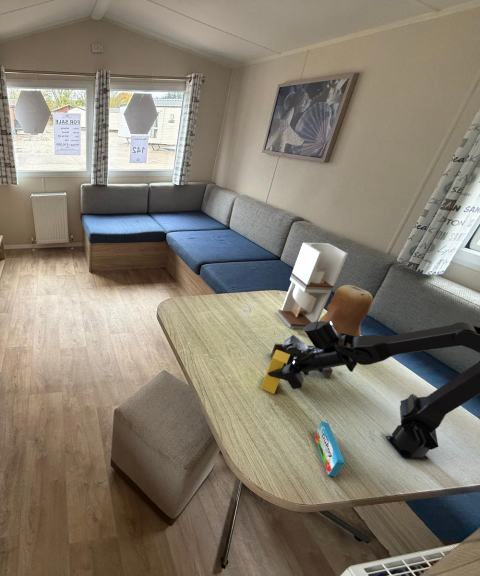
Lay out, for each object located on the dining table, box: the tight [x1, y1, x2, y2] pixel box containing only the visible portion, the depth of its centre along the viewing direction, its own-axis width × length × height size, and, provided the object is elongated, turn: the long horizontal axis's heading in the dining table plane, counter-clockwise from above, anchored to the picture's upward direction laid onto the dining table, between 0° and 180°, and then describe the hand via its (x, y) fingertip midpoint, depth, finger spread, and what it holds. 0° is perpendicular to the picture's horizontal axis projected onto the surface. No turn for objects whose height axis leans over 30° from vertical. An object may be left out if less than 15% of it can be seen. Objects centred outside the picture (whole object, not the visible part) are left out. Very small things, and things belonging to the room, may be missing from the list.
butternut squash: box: [318, 284, 373, 347], centre depth 119 cm, size 14×13×25 cm
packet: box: [260, 350, 290, 395], centre depth 100 cm, size 4×6×13 cm
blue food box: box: [313, 420, 345, 478], centre depth 80 cm, size 12×2×6 cm, turn 163°
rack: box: [270, 343, 334, 379], centre depth 111 cm, size 10×16×6 cm, turn 86°
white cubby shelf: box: [277, 241, 349, 329], centre depth 130 cm, size 11×11×35 cm
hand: (270, 369), depth 101 cm, fingers closed on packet, 5 cm apart
